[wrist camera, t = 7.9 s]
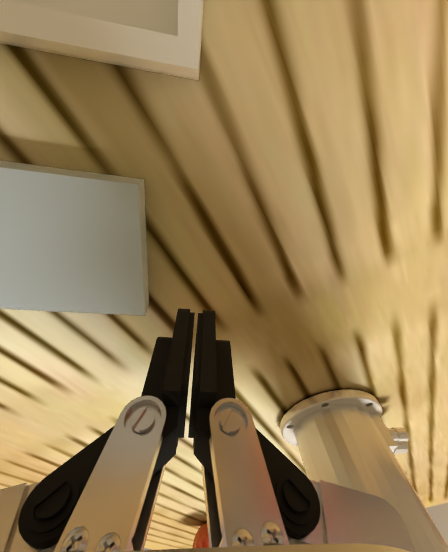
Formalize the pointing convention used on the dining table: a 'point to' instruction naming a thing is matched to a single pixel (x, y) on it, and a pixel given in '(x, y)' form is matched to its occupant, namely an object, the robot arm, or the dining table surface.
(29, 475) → the dining table surface
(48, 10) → the tray
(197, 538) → the fruit
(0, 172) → the pale grey flat panel
